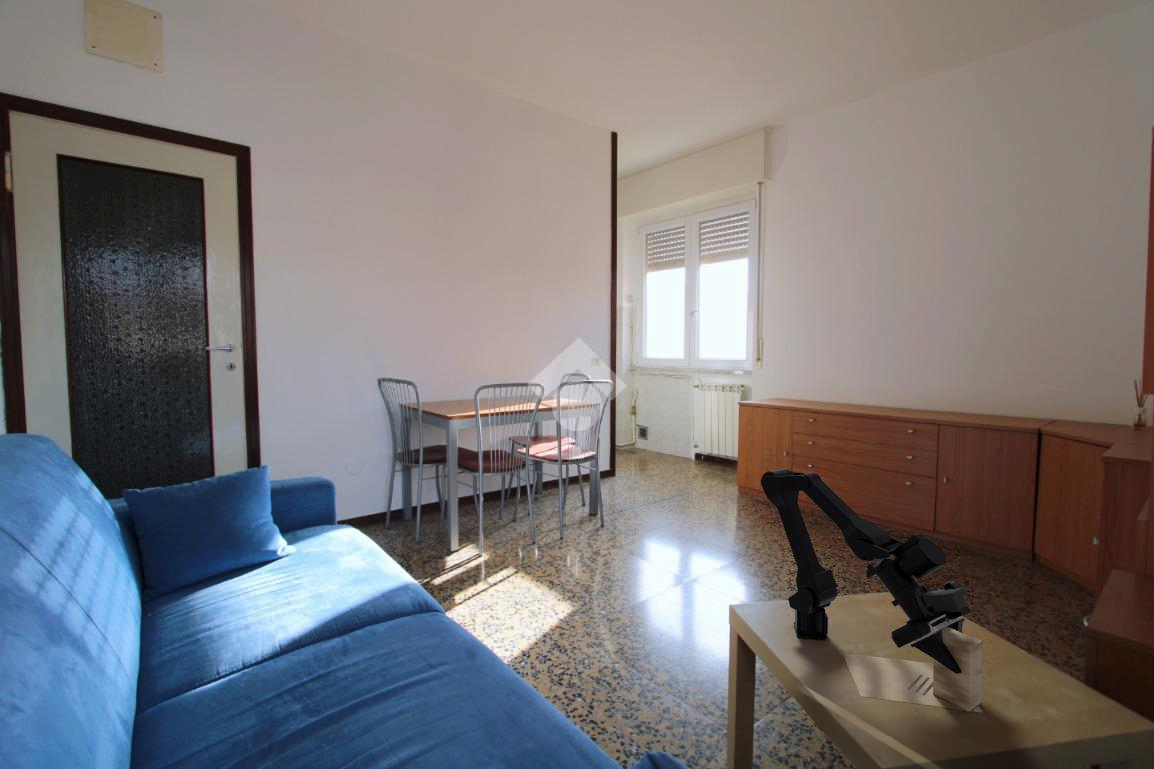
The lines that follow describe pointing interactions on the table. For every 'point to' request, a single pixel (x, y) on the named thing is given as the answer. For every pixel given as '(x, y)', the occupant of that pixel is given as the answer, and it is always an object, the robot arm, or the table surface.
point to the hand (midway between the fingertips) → (965, 669)
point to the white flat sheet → (895, 680)
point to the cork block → (968, 683)
